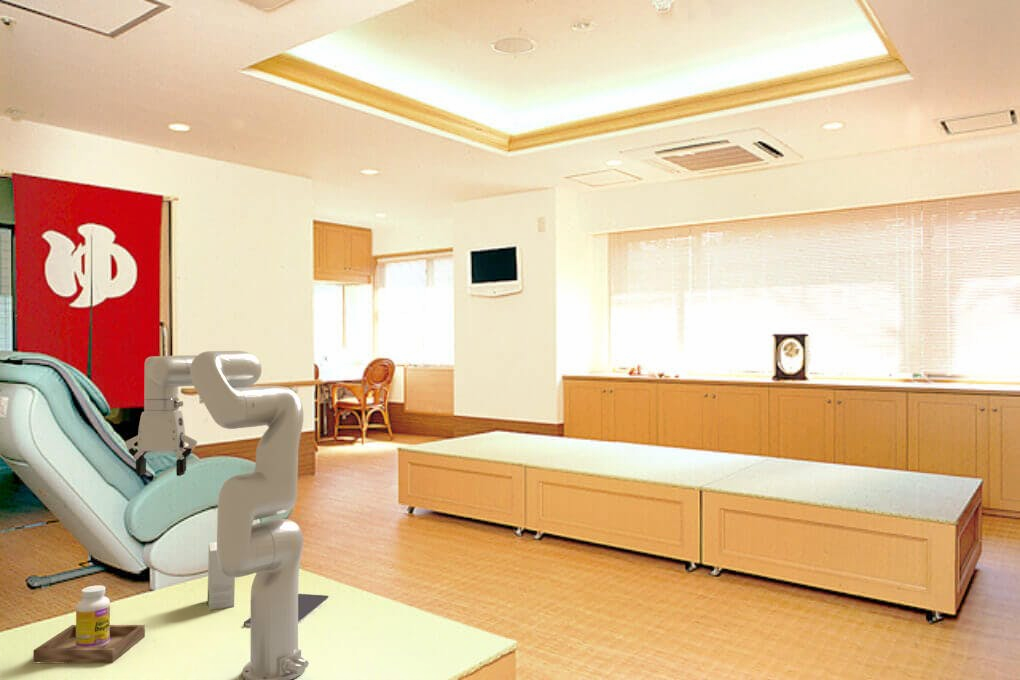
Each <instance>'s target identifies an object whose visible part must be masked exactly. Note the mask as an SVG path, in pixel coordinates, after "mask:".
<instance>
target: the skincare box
mask: <svg viewBox="0 0 1020 680" xmlns="http://www.w3.org/2000/svg"><path fill="white" fill-rule="evenodd" d="M207 561H208V562H207V563H208V564H207V565H208V568H207V606H208V611H212V610H213V611H214V610H218V609H226V608H234V607H235V585H236V584H235V583H236V582H235V581H236V578H233V577H229V576H227V575H225V574H224V573H223V572H222V570H221V569H220V566H219V563H218V558H217V541H214V542H208V559H207Z"/></svg>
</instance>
